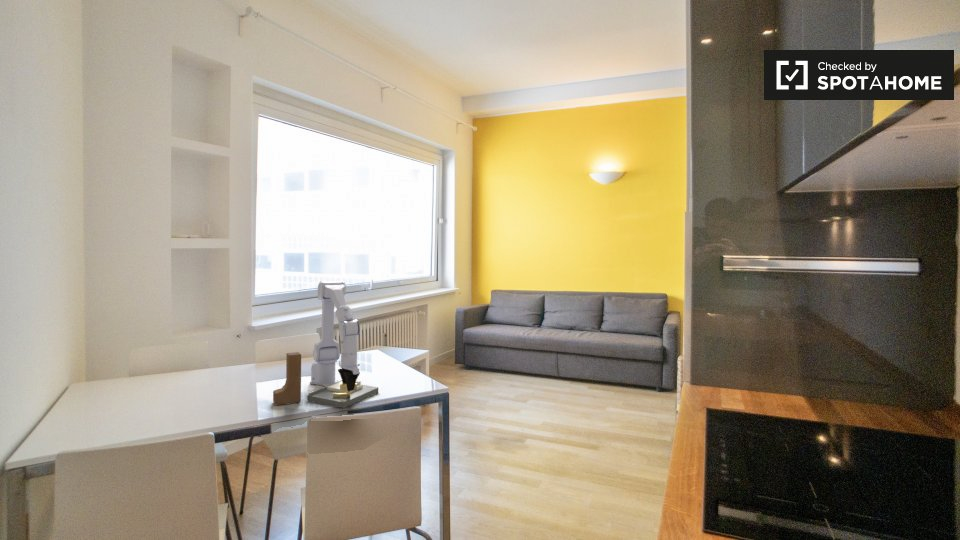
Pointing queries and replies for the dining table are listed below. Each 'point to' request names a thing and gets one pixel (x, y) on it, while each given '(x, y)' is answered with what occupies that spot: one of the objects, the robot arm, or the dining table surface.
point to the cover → (337, 389)
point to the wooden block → (290, 381)
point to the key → (344, 387)
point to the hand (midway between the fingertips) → (348, 389)
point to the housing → (327, 397)
